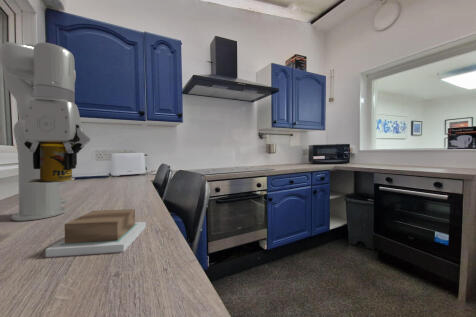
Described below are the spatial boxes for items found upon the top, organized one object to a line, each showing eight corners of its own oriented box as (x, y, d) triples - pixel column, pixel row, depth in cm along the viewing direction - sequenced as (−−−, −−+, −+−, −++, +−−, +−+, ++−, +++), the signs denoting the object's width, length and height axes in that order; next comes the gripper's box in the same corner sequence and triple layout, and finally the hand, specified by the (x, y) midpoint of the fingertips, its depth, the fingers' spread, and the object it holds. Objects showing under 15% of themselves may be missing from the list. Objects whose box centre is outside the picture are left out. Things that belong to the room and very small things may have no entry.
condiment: (71, 182, 49) (71, 134, 49) (23, 184, 44) (22, 131, 44) (75, 178, 55) (75, 136, 55) (33, 180, 51) (33, 133, 50)
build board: (89, 230, 52) (89, 224, 52) (145, 227, 54) (145, 221, 54) (45, 257, 38) (45, 248, 38) (123, 251, 40) (123, 244, 40)
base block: (93, 226, 50) (93, 210, 50) (135, 224, 51) (134, 209, 51) (64, 243, 40) (64, 224, 40) (117, 240, 42) (117, 221, 41)
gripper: (-1, 90, 44) (0, 169, 45) (83, 95, 47) (83, 170, 47) (29, 99, 52) (29, 167, 52) (100, 103, 54) (100, 167, 55)
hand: (55, 168), depth 50 cm, fingers closed on condiment, 6 cm apart
